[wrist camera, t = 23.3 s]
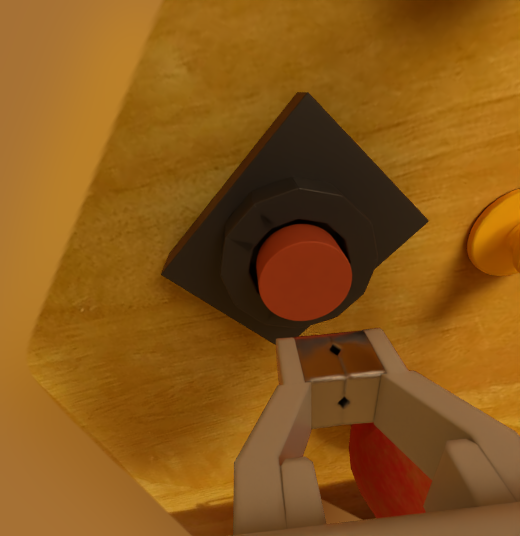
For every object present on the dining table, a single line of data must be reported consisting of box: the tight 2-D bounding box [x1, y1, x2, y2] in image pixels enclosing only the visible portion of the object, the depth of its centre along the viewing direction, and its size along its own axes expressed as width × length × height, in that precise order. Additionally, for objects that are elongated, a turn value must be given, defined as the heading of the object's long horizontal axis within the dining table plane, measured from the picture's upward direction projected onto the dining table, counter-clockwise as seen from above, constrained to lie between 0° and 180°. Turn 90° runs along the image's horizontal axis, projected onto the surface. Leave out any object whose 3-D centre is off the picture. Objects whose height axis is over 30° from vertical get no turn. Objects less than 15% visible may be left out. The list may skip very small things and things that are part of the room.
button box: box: [161, 92, 428, 345], centre depth 15 cm, size 10×8×4 cm
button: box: [256, 224, 352, 321], centre depth 13 cm, size 4×4×2 cm
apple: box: [349, 422, 432, 518], centre depth 19 cm, size 8×8×11 cm
